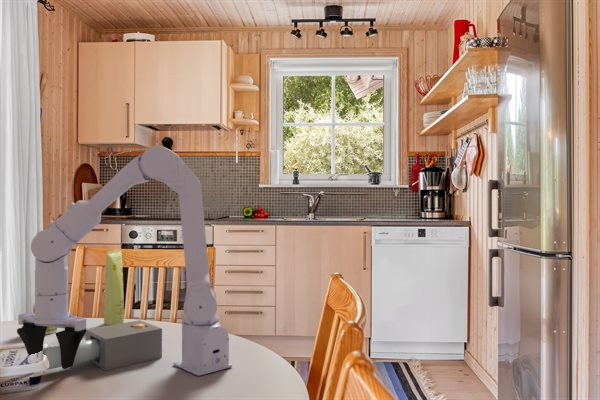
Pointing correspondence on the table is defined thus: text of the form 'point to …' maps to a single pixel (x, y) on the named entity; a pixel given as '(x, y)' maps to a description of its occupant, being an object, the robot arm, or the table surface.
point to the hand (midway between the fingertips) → (51, 365)
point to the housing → (126, 344)
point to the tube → (114, 289)
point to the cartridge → (84, 353)
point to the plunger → (138, 326)
